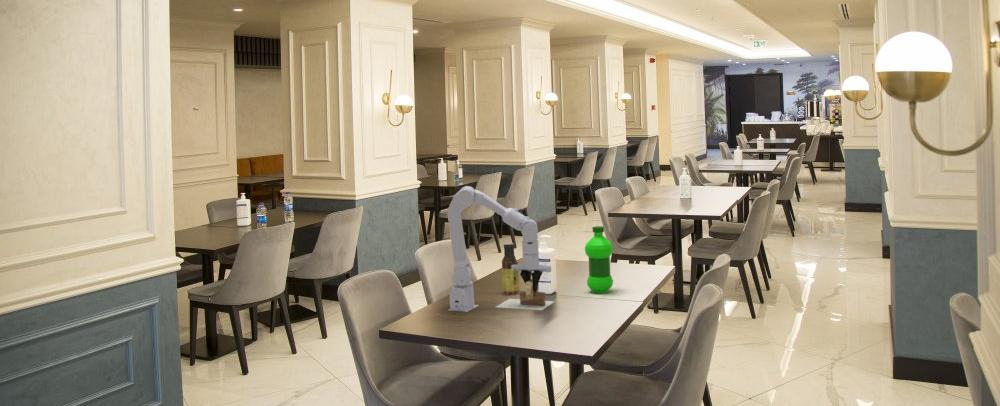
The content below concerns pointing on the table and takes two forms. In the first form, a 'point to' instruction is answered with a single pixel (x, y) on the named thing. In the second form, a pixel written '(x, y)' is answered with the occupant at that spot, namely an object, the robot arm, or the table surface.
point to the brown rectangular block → (533, 299)
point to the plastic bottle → (599, 261)
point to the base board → (516, 305)
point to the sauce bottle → (509, 271)
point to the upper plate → (530, 289)
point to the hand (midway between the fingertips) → (532, 291)
